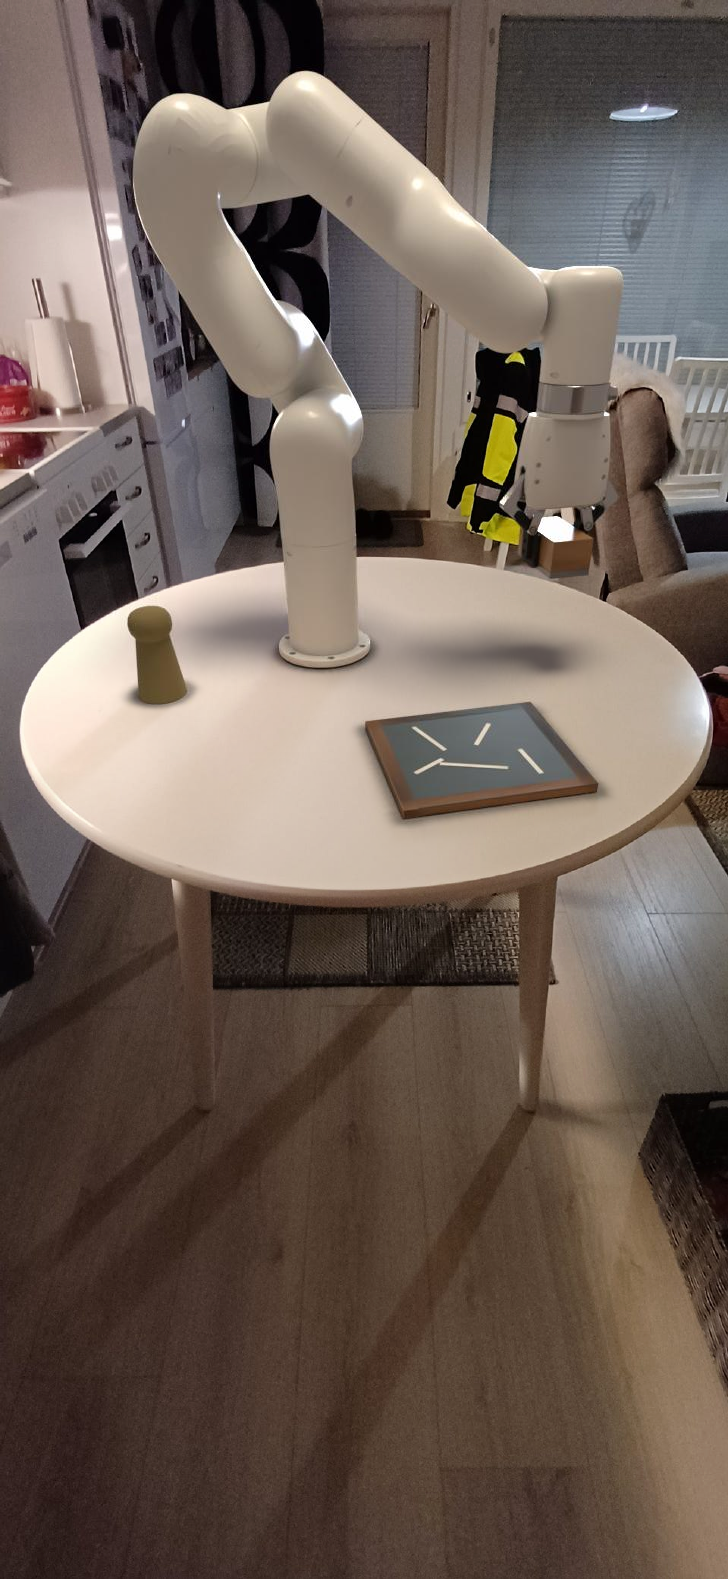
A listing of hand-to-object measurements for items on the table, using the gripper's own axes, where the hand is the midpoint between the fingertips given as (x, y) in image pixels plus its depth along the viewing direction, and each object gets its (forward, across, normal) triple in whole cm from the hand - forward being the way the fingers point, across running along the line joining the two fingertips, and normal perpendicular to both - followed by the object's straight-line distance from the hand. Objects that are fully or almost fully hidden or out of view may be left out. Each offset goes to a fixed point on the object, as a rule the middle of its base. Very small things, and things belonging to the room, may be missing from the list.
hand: (551, 561), depth 96 cm
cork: (+14, +50, -3) cm, 51 cm away
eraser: (0, 0, 0) cm, 0 cm away
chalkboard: (+13, +17, +22) cm, 30 cm away
